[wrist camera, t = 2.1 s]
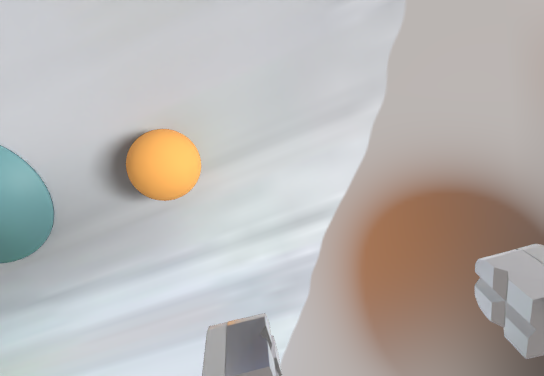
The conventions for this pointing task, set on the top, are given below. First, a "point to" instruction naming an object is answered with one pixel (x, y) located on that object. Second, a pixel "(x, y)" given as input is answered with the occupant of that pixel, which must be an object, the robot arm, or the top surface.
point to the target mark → (22, 208)
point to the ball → (163, 164)
